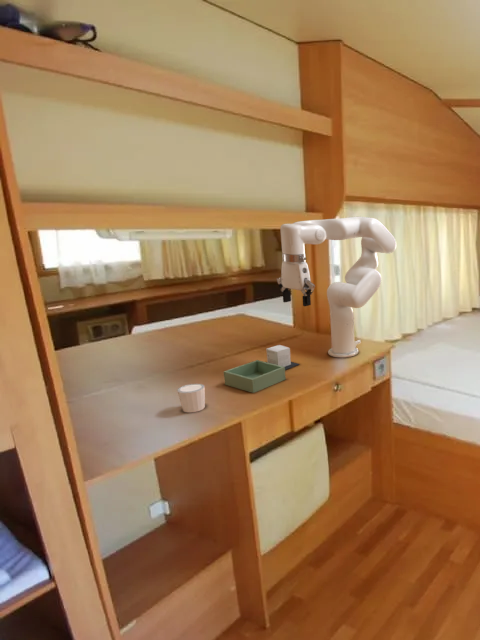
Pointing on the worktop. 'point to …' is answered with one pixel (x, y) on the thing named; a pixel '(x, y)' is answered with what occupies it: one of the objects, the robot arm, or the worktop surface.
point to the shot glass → (192, 397)
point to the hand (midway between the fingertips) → (297, 303)
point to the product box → (279, 355)
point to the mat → (291, 365)
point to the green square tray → (254, 376)
